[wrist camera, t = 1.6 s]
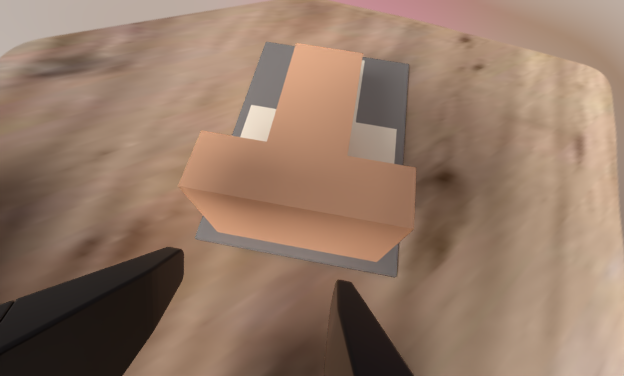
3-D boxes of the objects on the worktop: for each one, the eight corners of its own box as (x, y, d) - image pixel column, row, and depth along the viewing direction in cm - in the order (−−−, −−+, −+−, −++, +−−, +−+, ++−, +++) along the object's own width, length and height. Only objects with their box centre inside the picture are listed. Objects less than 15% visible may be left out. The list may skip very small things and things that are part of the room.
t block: (376, 262, 22) (414, 229, 15) (217, 232, 22) (177, 186, 15) (387, 134, 27) (420, 62, 20) (257, 112, 27) (241, 34, 20)
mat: (394, 277, 22) (396, 276, 21) (196, 239, 23) (194, 237, 22) (407, 67, 31) (408, 63, 31) (266, 45, 32) (265, 41, 31)
